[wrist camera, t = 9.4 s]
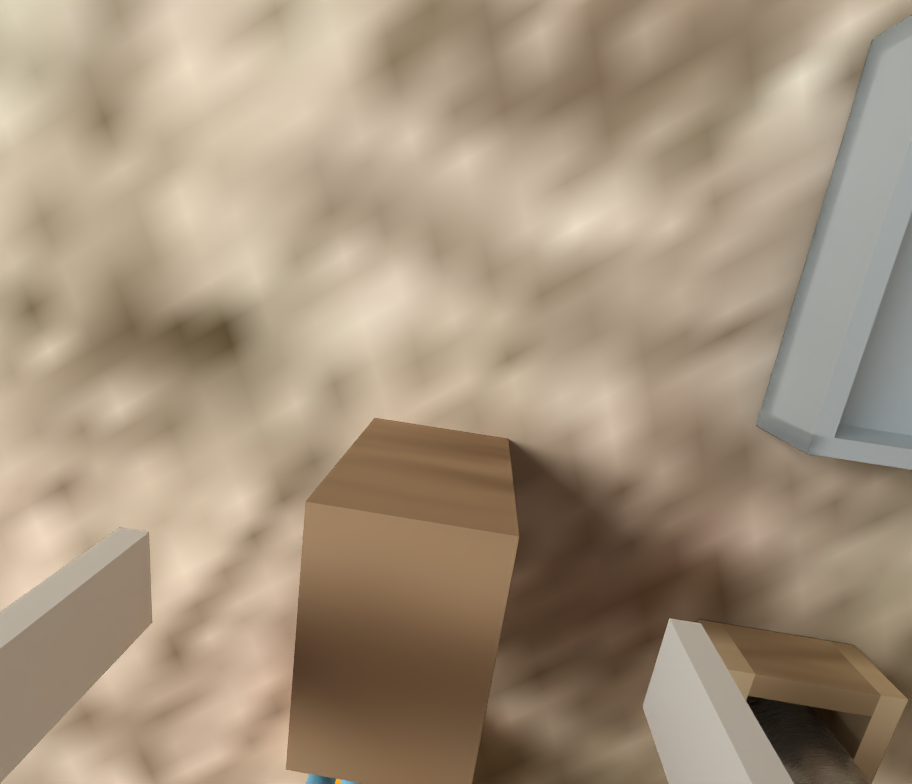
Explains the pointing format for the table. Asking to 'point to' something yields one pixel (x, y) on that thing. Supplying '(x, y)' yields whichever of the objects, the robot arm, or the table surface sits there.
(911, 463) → the tray
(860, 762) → the socket block
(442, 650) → the block
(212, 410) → the table surface
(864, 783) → the pin
